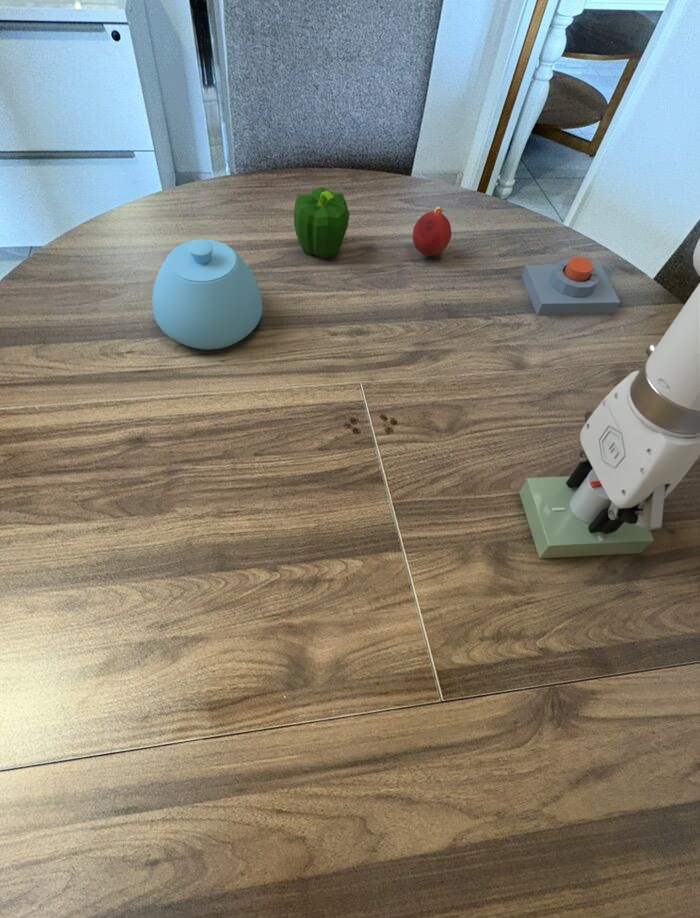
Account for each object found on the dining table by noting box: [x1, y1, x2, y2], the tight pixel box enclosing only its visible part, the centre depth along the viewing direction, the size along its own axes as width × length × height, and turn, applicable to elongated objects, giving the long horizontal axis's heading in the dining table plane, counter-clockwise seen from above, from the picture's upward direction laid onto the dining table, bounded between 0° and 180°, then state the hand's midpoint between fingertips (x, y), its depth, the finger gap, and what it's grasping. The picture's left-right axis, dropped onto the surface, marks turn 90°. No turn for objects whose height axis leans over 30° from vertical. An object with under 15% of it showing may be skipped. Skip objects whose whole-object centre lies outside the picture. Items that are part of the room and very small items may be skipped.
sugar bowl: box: [151, 238, 264, 351], centre depth 82 cm, size 15×15×12 cm
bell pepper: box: [293, 187, 350, 259], centre depth 93 cm, size 8×8×10 cm
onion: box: [412, 206, 453, 257], centre depth 94 cm, size 6×6×8 cm
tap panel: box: [518, 475, 655, 559], centre depth 70 cm, size 12×9×3 cm
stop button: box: [564, 256, 594, 282], centre depth 90 cm, size 4×4×2 cm
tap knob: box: [570, 469, 612, 524], centre depth 67 cm, size 4×4×5 cm
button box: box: [521, 258, 621, 316], centre depth 92 cm, size 12×9×4 cm
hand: (590, 505), depth 69 cm, fingers open, 5 cm apart
